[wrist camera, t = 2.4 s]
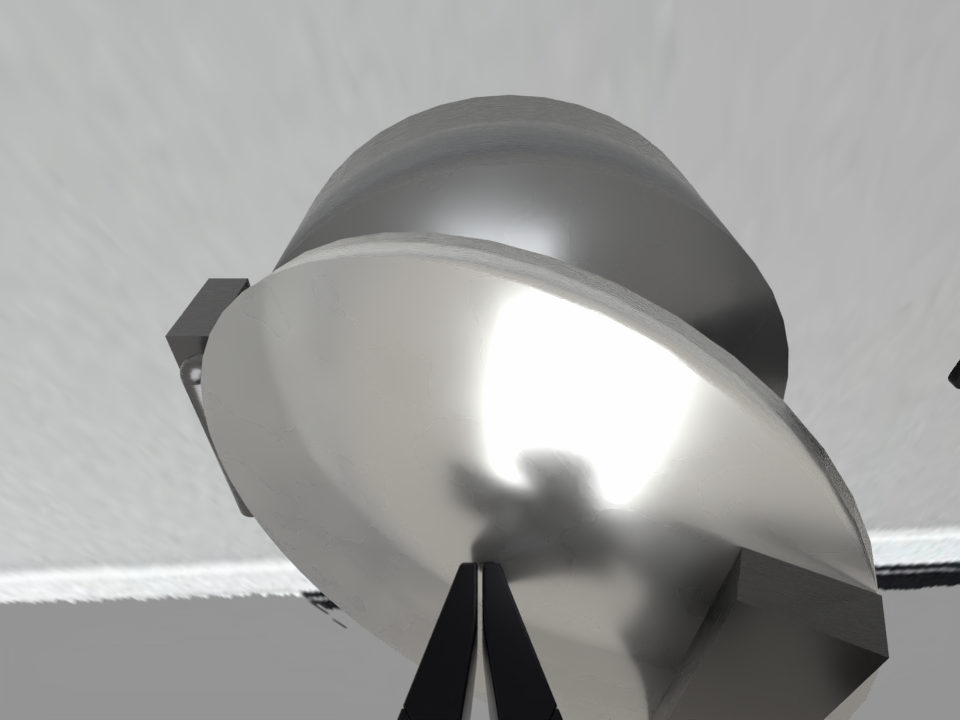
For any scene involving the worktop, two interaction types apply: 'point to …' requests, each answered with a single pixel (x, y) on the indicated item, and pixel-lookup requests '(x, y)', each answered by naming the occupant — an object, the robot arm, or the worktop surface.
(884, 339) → the worktop surface
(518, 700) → the robot arm
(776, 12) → the worktop surface
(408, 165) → the pot
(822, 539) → the lid
